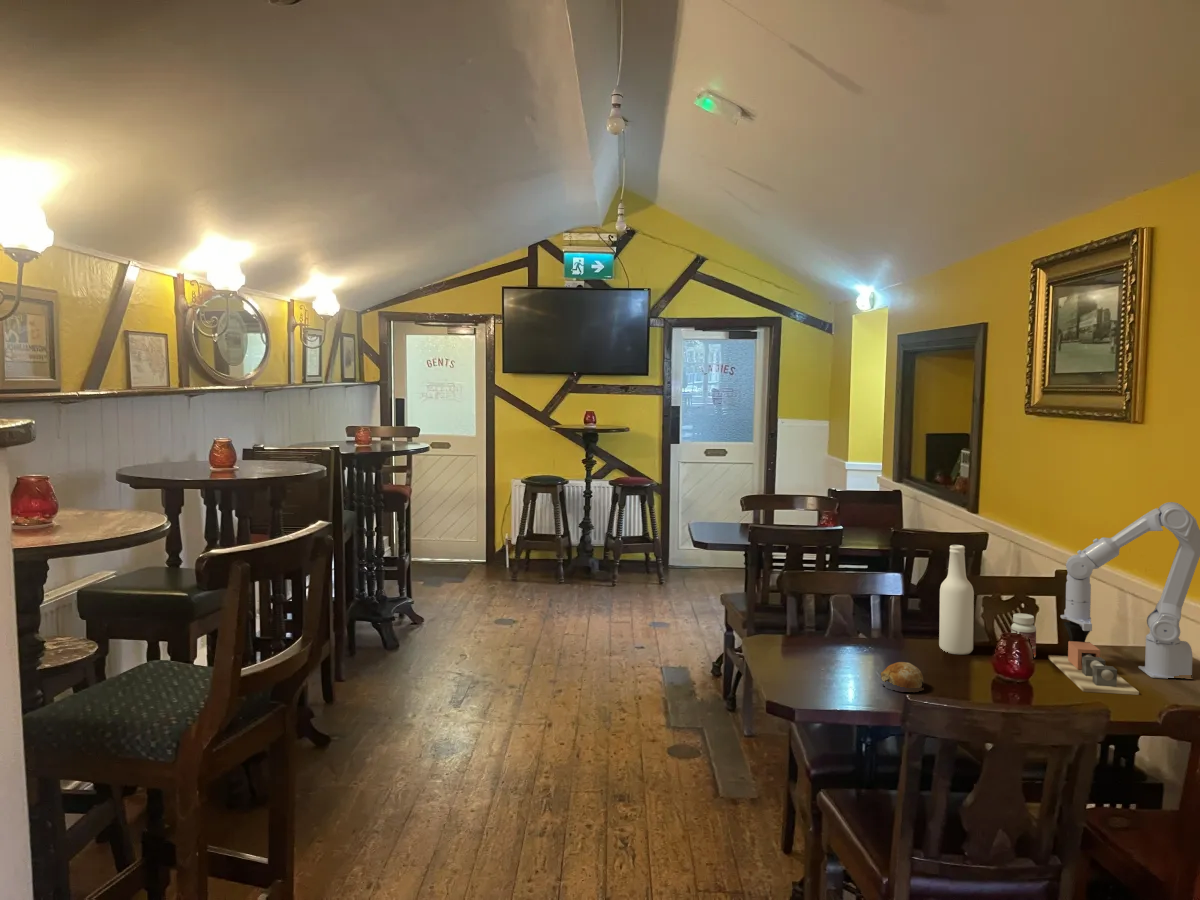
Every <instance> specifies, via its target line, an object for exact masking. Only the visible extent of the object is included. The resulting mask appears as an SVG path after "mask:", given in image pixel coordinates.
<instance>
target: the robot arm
mask: <svg viewBox="0 0 1200 900" xmlns="http://www.w3.org/2000/svg"><path fill="white" fill-rule="evenodd" d="M1158 507H1159V508H1158ZM1158 507H1156V508H1154V509H1151V510H1150V511H1148V512H1147V513H1145V514H1144V515H1141V517H1139V518H1137V519H1136V520H1135V521H1133V522H1131V523H1130V524H1129V525H1127V526H1126V527H1125V528H1123V529H1122V530H1120V531H1119V532H1117V533H1116V534H1114V535H1113V536H1112V537H1101V538H1100V539H1099V538H1095V539H1093V540H1092V542H1093V543H1092V544H1090V545H1088V546H1087V547H1085V548H1084V549H1083V550H1081V549H1079V550H1077V552H1076V553H1077V554H1073V555H1070V557H1068V558H1067V560H1066V563H1065V568H1066V571H1067V575H1066V582H1065V609H1064V614H1060V618H1061V619H1062V620H1067V621H1065V622H1063V625H1064V627H1065V629H1066V631H1067V634H1068V637H1069V641H1074V642H1086V639H1087V637H1088V635H1090V633H1091V632H1092V631H1093V623H1092V617H1091V601H1092V600H1091V599H1092V598H1091V596H1092V595H1091V594H1092V588H1091V587H1092V585H1091V575H1092V574H1093V570H1096V569H1097V570H1098V569H1099V568H1101V567H1102V566H1104V565H1105V564H1108V562H1110V561H1112V560H1114V559H1115V558H1117V557H1118V556H1119V555H1120V549H1121V548H1123V547H1124V546H1126V545H1128V544H1129V543H1131V542H1133V541H1135V540H1136V539H1138V538H1139V537H1141V536H1143V535H1145V534H1146V533H1148V532H1162V531H1164V529H1163V527H1164V528H1165V529H1167V530H1168V531H1170V533H1172V534H1173V535H1174V537H1175V538H1176V539H1177V541H1178V546H1177V549H1176V552H1175V555H1174V558H1173V561H1172V563H1171V567H1170V568H1169V569H1170V570H1169V573H1168V576H1167V578H1166V581H1165V584H1164V587H1163V590H1162V593H1161V596H1160V599H1159V601H1157V603H1156V606H1155V608H1154V610H1152V611H1151V613H1149V614H1148V615H1147V617H1146V624H1147V627H1148V628H1149V632H1148V633H1147V634H1146V635H1145V657H1144V658H1145V659H1144V666H1143V665H1138V669H1139V670H1141V671H1142V672H1144V673H1145V674H1146V675H1147V676H1149V677H1150V678H1152V679H1153V678H1154V679H1168V678H1174V676H1179V675H1192V676H1193V649H1192V646H1191V645H1190V643H1189V642H1188V641H1185V640H1181V639H1180V635H1181V628H1180V621H1181V619H1182V610H1183V606H1184V602H1185V600H1186V597H1187V594H1188V591H1189V589H1190V586H1191V583H1192V580H1193V577H1194V574H1195V571H1196V568H1197V565H1198V563H1199V561H1200V528H1199V524H1198V523H1197V519H1196V518H1195V517H1194V516H1193V515H1192V514H1191V512H1190V511H1189V510H1188V509H1186V508H1185V506H1183V505H1182V504H1180V503H1179V502H1173V501H1170V502H1169V501H1168V502H1165V503H1163V504H1161V505H1160V506H1158Z"/></svg>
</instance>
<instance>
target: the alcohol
mask: <svg viewBox="0 0 1200 900" xmlns="http://www.w3.org/2000/svg"><path fill="white" fill-rule="evenodd" d="M965 549H966V547H965V546H964V545H962V544H961V545H960V544H951V545H950V546H949V558H948V559H949V561H948V569H947V574H946V575H947V576H946V578H945V579H944V580H943V581H942V582H941V584H940V588H939V625H938V626H939V629H938V630H939V631H938V632H939V634H938V636H939V637H938V645H939V648H940V650H941V649H942V650H943V651H942V650H941V651H942V652H944V651H945V653H947V652H948V654H952V655H961V656H962V655H964V656H965V655H969V654H971V653H972V652H973V650H974V614H975V613H974V611H975V610H974V608H975V607H974V606H975V605H974V603H975V600H974V599H975V596H974V595H975V592H974V587H973V585H972V583H971V582H970V581H969V580H968V578H967V570H966V556H965V555H966V554H965V553H966V550H965Z"/></svg>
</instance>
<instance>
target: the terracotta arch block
mask: <svg viewBox="0 0 1200 900" xmlns="http://www.w3.org/2000/svg"><path fill="white" fill-rule="evenodd" d="M1067 647H1068V648H1067V649H1068V650H1067V656H1068V661H1069V662H1070V663H1072V664H1073V665H1074V666H1075V667H1076V668H1077V669H1082V653H1089V654H1090V655H1092V656H1093V657H1101V649H1099V647H1097V646H1096V645H1095V644H1093V643H1092V642H1090V641H1085V642H1074V641H1070V640H1069V641H1068V645H1067Z"/></svg>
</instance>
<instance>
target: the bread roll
mask: <svg viewBox="0 0 1200 900" xmlns="http://www.w3.org/2000/svg"><path fill="white" fill-rule="evenodd" d="M922 673H923V672H921V670H920V669H919V668H918V667H917V666H915V665H914V664H912V663H910V662H905V661H898V662H895V663H891V664H889V665H888V666H887V667H886V668H885V669H883V671H881V672H880V680H881V679H882V681H884V682H886V681H888V682H890V683H892V684H893V685H897V686H900V687H905V688H920V687H921V686H922V685H923V683H925V682H924V676H923V674H922ZM923 686H924V685H923Z"/></svg>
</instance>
